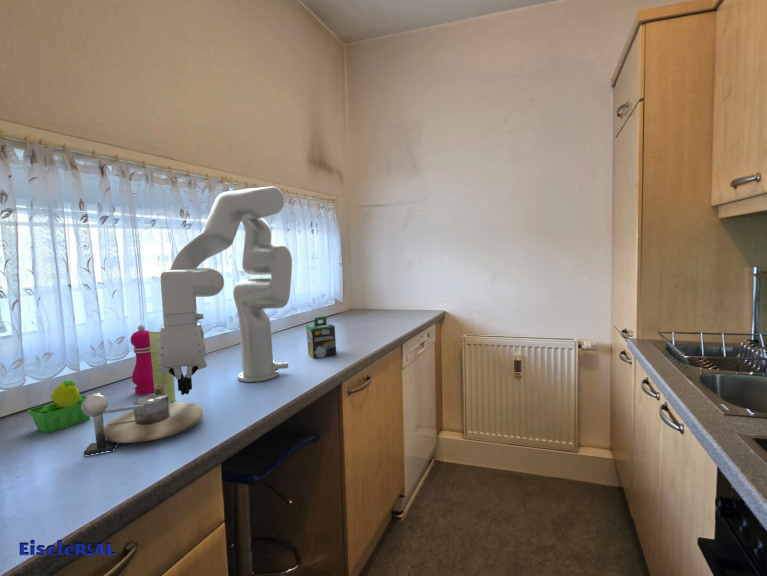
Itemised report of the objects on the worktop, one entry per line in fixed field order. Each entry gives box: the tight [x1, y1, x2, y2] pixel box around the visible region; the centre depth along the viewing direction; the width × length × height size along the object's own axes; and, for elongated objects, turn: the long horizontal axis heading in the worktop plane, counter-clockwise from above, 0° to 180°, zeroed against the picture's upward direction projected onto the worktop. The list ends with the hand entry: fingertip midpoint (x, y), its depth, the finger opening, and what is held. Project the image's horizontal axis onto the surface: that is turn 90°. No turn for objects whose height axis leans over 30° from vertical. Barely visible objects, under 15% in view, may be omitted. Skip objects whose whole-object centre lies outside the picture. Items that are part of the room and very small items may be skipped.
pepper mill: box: [130, 324, 154, 395], centre depth 125 cm, size 7×7×20 cm
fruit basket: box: [27, 379, 91, 434], centre depth 102 cm, size 11×9×11 cm
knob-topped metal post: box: [81, 392, 144, 457], centre depth 88 cm, size 11×4×12 cm, turn 109°
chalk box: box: [305, 316, 337, 360], centre depth 161 cm, size 9×9×15 cm
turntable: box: [104, 384, 204, 444], centre depth 97 cm, size 20×20×6 cm
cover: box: [132, 394, 170, 425], centre depth 97 cm, size 7×7×5 cm
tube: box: [149, 331, 176, 403], centre depth 115 cm, size 6×5×20 cm
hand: (185, 392), depth 105 cm, fingers closed
